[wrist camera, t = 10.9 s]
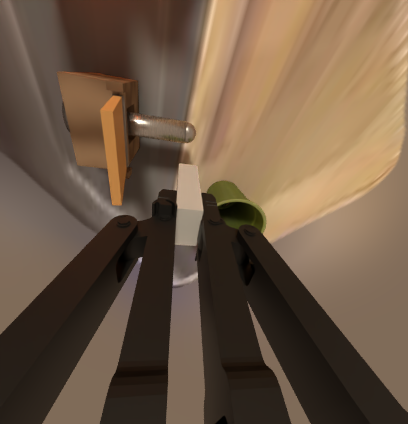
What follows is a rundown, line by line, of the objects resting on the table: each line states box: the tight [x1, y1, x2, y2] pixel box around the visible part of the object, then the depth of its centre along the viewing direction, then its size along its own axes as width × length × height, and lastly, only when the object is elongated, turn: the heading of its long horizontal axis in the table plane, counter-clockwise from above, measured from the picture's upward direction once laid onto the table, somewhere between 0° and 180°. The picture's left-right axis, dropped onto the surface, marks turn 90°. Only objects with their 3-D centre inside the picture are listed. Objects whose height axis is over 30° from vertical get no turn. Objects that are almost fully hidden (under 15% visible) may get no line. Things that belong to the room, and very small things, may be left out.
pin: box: [62, 102, 196, 143], centre depth 27 cm, size 5×17×5 cm, turn 80°
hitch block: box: [57, 72, 140, 179], centre depth 26 cm, size 10×7×12 cm, turn 170°
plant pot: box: [207, 181, 266, 234], centre depth 37 cm, size 12×12×11 cm
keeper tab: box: [100, 94, 129, 205], centre depth 19 cm, size 8×10×1 cm
